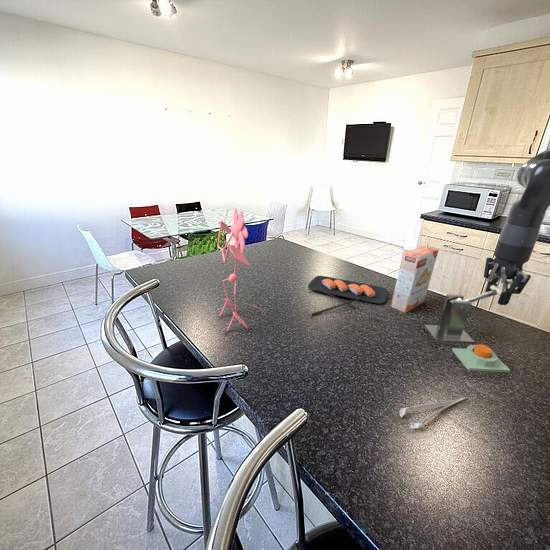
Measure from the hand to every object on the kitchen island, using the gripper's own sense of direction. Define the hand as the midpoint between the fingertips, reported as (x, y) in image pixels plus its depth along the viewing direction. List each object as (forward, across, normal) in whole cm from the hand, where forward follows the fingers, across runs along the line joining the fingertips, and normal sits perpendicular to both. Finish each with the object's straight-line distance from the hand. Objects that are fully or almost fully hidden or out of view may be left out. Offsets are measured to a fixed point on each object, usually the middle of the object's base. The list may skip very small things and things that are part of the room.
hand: (495, 299), depth 82 cm
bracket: (+13, 0, +10) cm, 16 cm away
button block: (+13, -12, +8) cm, 19 cm away
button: (+10, -12, +8) cm, 18 cm away
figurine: (+13, +5, +72) cm, 73 cm away
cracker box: (+13, +18, +15) cm, 27 cm away
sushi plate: (+13, +20, +38) cm, 45 cm away
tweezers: (+13, -28, +26) cm, 40 cm away
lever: (+1, 0, +5) cm, 5 cm away
